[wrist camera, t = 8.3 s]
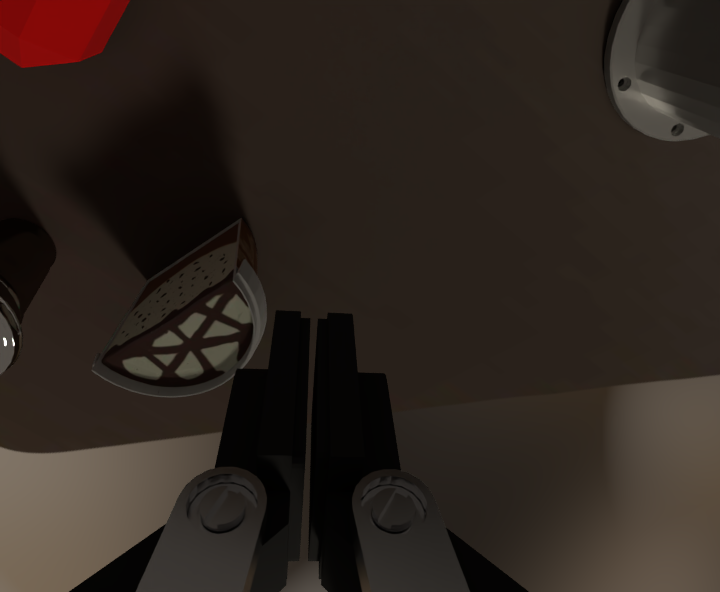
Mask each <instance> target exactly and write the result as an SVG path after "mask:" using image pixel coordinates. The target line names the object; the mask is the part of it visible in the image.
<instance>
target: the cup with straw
mask: <svg viewBox="0 0 720 592" xmlns="http://www.w3.org/2000/svg"><path fill="white" fill-rule="evenodd" d="M55 259H56V249H55V245H54V243H53V241H52V239H51V238H50V236H49V235H48V234H47V233H46V232H45V231H44V230H43V229H41V228H40V227H39V226H37V225H35V224H34V223H31V222H29V221H26V220H22V219H15V218H11V219H4V220H1V221H0V375H1V374H2V373H3V372H5V371H6V370H7V369H9V368H10V367H11V366H12V365H13V364H14V363H15V362H16V360H17V359H18V357H19V356H20V353H21V350H22V347H23V333H22V329H21V323H22V320H23V317H24V314H25V312H26V310H27V308H28V307H29V305H30V303H31V302H32V300H33V298H34V296H35V295H36V293H37V291H38V290H39V288H40V286H41V284H42V283H43V281H44V279H45V278H46V276H47V274H48V272H49V270H50V267H51V266H52V265H53V264H54V262H55Z"/></svg>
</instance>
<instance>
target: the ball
mask: <svg viewBox="0 0 720 592" xmlns="http://www.w3.org/2000/svg"><path fill="white" fill-rule="evenodd" d="M129 1H130V0H0V53H1V54H2V55H4V56H5V57H7V58H8V59H10V60H11V61H13V62H14V63H16V64H17V65H19V66H20V67H22V68H24V67H34V66H43V65H53V64H62V63H72V62H79V61H82V60H84V59H87V58H89V57H92V56H94V55H96V54H99V53H101V52H102V51H103V49H104V47H105V45H106V43H107V42H108V40H109V38H110V36H111V34H112V32H113V31H114V29H115V27H116V25H117V23H118V21H119V20H120V18H121V16H122V14H123V12H124V10H125V9H126V7H127V5H128V3H129Z"/></svg>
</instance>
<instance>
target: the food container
mask: <svg viewBox="0 0 720 592" xmlns="http://www.w3.org/2000/svg"><path fill="white" fill-rule="evenodd" d="M266 320H267V306H266V299H265V294H264V291H263V288H262V285H261V283H260V281H259V279H258V277H257V248H256V243H255V240H254V237H253V235H252V233H251V231H250V229H249V227H248V226H247V224H246V223H245V222H244V220H243V219H242V218H240V219H239V220H237V221H236V222H234V223H233V224H231V225H230V226H228V227H227V228H225V229H224V230H222V231H221V232H219V233H218V234H216V235H215V236H213V237H212V238H210V239H209V240H207V241H206V242H204V243H203V244H201V245H200V246H198V247H197V248H195V249H194V250H192V251H191V252H189V253H188V254H186V255H185V256H183V257H182V258H180V259H179V260H177V261H176V262H174V263H173V264H171V265H170V266H168V267H167V268H165V269H164V270H162V271H161V272H159V273H158V274H156V275H155V276H153V277H152V278H150V279H149V280H147V281H146V283H145V284H144V286H143V288H142V289H141V291H140V293H139V294H138V296H137V297H136V299H135V301H134V302H133V304H132V305H131V307H130V309H129V310H128V312H127V313H126V315H125V317H124V318H123V320H122V321H121V323H120V325H119V326H118V328H117V329H116V331H115V333H114V334H113V336H112V337H111V339H110V341H109V342H108V344H107V345H106V347H105V349H104V350H103V352H102V353H101V354H100V353H97V355H96V357H95V360H94V362H93V365H92V366H93V368H92V370H91V371H93V372H94V373H96V374H97V375H99V376H100V377H101V378H103V379H105V380H107V381H109V382H111V383H112V384H114V385H116V386H119V387H121V388H124V389H126V390H129V391H133V392H136V393H140V394H144V395H150V396H156V397H185V396H190V395H196V394H200V393H203V392H206V391H209V390H212V389H214V388H216V387H218V386H220V385H222V384H224V383H225V382H227V381H228V380H229V379H231V378H232V377H233V376H234V375H235V372H236V370H237V368H238V369H242V368H243V367H244V366H245V365H246V364H247V362H248V361H249V360H250V358H251V357H252V355H253V353H254V352H255V350H256V348H257V346H258V344H259V342H260V340H261V338H262V335H263V333H264V329H265V325H266Z"/></svg>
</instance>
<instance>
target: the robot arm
mask: <svg viewBox="0 0 720 592" xmlns="http://www.w3.org/2000/svg"><path fill="white" fill-rule="evenodd" d="M604 77H605V83H606V88H607V93H608V95H609V98H610V100H611V102H612V105H613V107H614V108H615V110H616V111H617V113H618V114H619V115H620V117H621V118H622V119H623V120H624V121H625V122H626V123H628V124H629V125H630V126H631V127H632V128H634V129H636V130H638V131H640V132H642V133H643V134H645V135H648V136H651V137H654V138H657V139H660V140H667V141H683V140H692V139H696V138H700V137H703V136H707V135H713V136H715V137H717V138H719V139H720V0H623V1H622V3H621V5H620V7H619V9H618V10H617V12H616V15H615V17H614V20H613V23H612V26H611V29H610V31H609V34H608V39H607V44H606V50H605V55H604ZM620 80H621V82H620V84H619V85H618V83H619V81H620ZM309 340H310V318H301V311H279V310H276V315H275V322H274V330H273V337H272V345H271V352H270V360H269V367H268V369H238V368H237V370H236V372H235V376H234V380H233V385H232V390H231V394H230V399H229V404H228V408H227V413H226V418H225V422H224V427H223V432H222V436H221V441H220V446H219V451H218V455H217V460H216V465H215V469H210V470H207V471H205V472H203V473H202V474H200V475H198V476H196V477H195V478H194V479H192V480H191V481H190V482H189V483H188V484H187V485H186V486H185V488H184V489H183V490H182V492H181V493H180V495H179V497H178V499H177V501H176V503H175V506H174V508H173V510H172V512H171V514H170V517H169V519H168V521H167V523H166V524H165V525H164V526H162V527H161V528H160V529H158V530H157V531H155V532H154V533H152V534H151V535H149V536H148V537H147V538H145V539H144V540H142V541H141V542H139V543H138V544H136V545H135V546H134V547H132V548H131V549H129V550H128V551H126V552H125V553H124V554H122V555H121V556H119V557H118V558H116V559H115V560H114V561H112V562H111V563H109V564H108V565H106V566H105V567H104V568H102V569H101V570H99V571H98V572H97V573H95V574H94V575H92V576H91V577H89V578H88V579H86V580H85V581H84V582H82V583H81V584H79V585H78V586H77V587H75V588H74V589H72V590H71V591H69V592H279V591H281V590H282V589H283V588H284V587H285V586H286V579H287V568H288V561H299V556H300V540H301V523H302V505H303V489H304V473H305V454H306V428H307V399H308V370H309ZM310 467H311V468H310V506H309V507H310V509H309V548H308V549H309V550H308V551H309V553H308V561H319V579H321V585H322V586H323V587H324V588H325V589H326V590H327V591H328V592H528V591H527V590H526V589H525V588H523V587H522V586H521V585H519V584H518V583H517V582H516V581H514V580H513V579H512V578H510V577H509V576H508V575H507V574H505V573H504V572H503V571H501V570H500V569H499V568H497V567H496V566H495V565H494V564H492V563H491V562H490V561H488V560H487V559H486V558H485V557H483V556H482V555H481V554H479V553H478V552H477V551H476V550H474V549H473V548H472V547H470V546H469V545H468V544H466V543H465V542H464V541H463V540H461V539H460V538H459V537H457V536H456V535H455V534H454V533H452V532H451V531H450V530H448V529H447V528H446V527H445V525H444V522H443V519H442V517H441V514H440V511H439V509H438V506H437V504H436V501H435V499H434V497H433V495H432V493H431V491H430V490H429V488H428V487H427V486H426V485H425V484H424V483H423V482H422V481H421V480H420V479H418V478H417V477H415V476H413V475H411V474H410V473H407V472H404V471H401V469H400V462H399V456H398V449H397V443H396V436H395V430H394V423H393V418H392V410H391V404H390V398H389V391H388V385H387V379H386V375H385V374H384V373H358V371H357V360H356V348H355V337H354V325H353V315H352V314H344V313H328V316H327V319H318V326H317V341H316V356H315V372H314V387H313V402H312V423H311V466H310Z"/></svg>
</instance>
